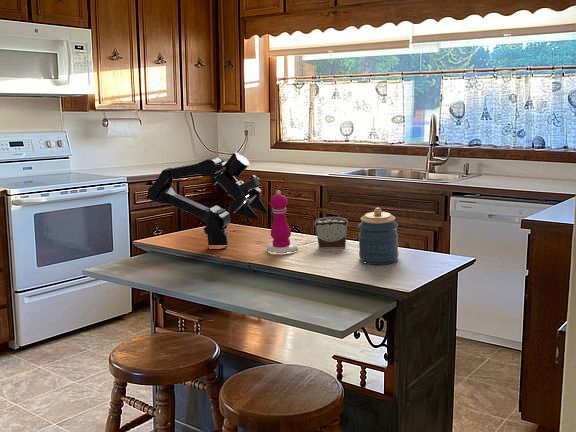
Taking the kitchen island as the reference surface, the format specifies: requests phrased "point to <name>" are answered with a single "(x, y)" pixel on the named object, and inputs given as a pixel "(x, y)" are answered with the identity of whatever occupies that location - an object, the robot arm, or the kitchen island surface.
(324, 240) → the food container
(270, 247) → the stand
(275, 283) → the kitchen island surface
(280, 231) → the pepper mill
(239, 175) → the robot arm
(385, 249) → the canister
